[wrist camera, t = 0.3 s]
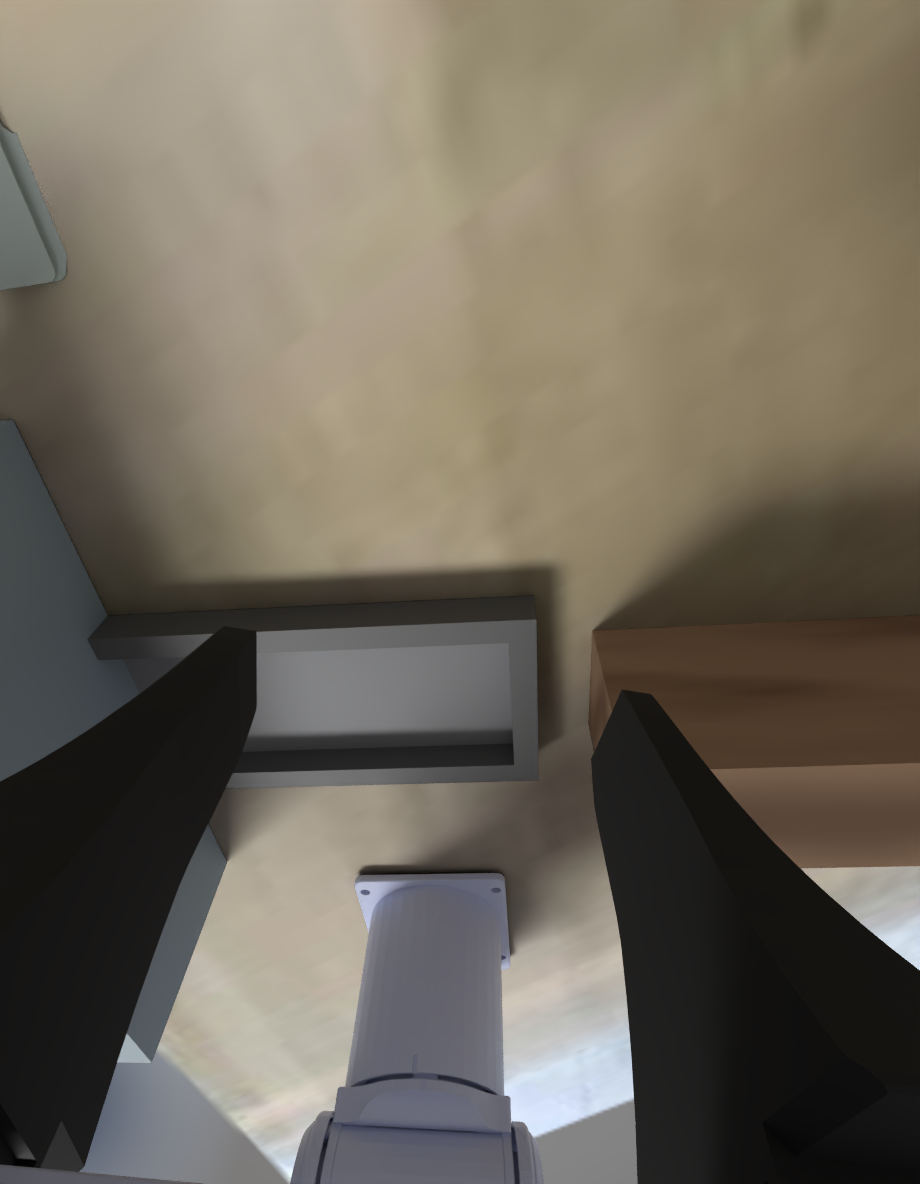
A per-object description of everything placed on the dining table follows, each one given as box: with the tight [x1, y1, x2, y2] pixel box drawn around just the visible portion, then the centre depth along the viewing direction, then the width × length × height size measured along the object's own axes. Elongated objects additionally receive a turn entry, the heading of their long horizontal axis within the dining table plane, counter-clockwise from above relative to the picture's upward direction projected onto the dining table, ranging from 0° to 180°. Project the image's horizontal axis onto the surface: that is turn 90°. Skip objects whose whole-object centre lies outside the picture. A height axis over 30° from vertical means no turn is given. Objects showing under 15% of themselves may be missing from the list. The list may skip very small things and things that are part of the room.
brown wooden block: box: [588, 615, 920, 868], centre depth 22 cm, size 5×14×7 cm, turn 95°
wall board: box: [0, 420, 538, 1063], centre depth 22 cm, size 24×18×9 cm
